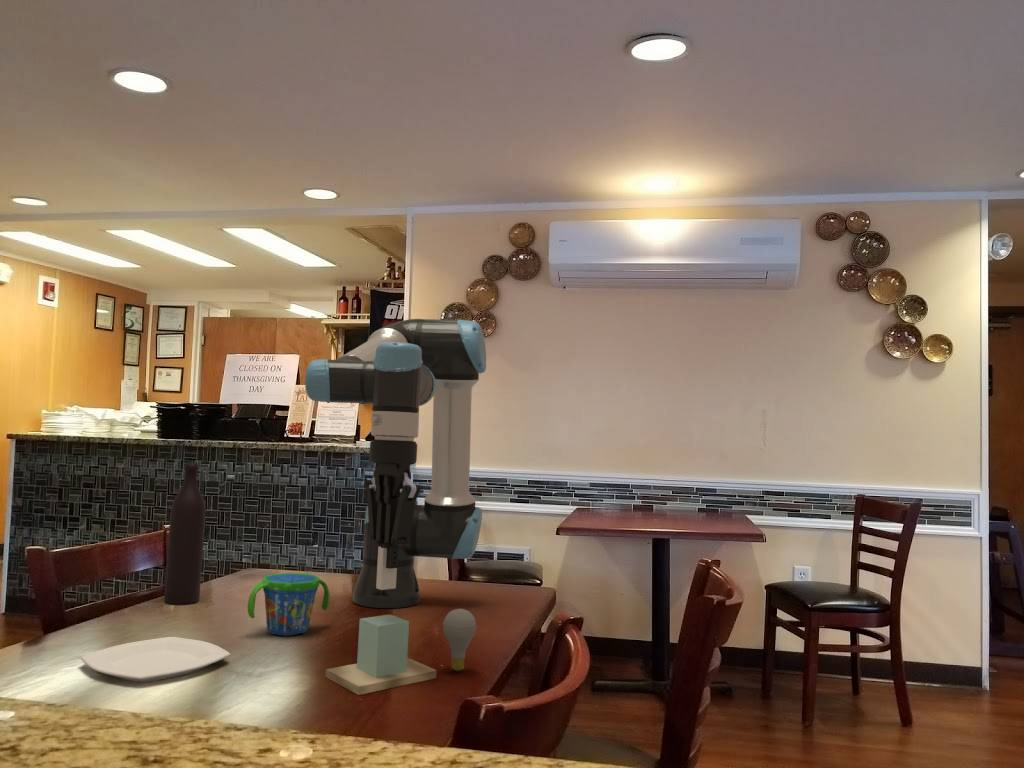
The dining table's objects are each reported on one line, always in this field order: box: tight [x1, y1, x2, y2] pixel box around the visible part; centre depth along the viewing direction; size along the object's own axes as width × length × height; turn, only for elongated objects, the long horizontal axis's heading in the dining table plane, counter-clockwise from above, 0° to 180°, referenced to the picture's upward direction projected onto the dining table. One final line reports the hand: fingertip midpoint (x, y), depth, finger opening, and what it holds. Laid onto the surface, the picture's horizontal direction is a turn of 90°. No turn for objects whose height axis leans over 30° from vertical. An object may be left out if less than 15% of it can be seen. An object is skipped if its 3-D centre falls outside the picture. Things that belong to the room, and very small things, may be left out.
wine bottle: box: [163, 462, 206, 606], centre depth 166 cm, size 7×7×30 cm
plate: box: [80, 636, 231, 683], centre depth 121 cm, size 19×19×2 cm
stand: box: [325, 657, 437, 696], centre depth 119 cm, size 14×10×7 cm
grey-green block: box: [356, 614, 410, 678], centre depth 119 cm, size 6×6×8 cm
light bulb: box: [442, 608, 477, 673], centre depth 124 cm, size 6×6×10 cm
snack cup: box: [247, 572, 331, 637], centre depth 144 cm, size 16×10×10 cm
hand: (385, 588), depth 120 cm, fingers closed
